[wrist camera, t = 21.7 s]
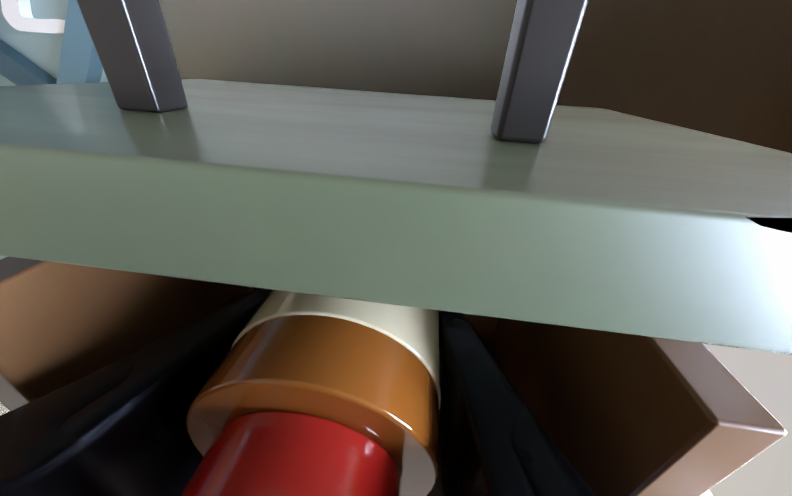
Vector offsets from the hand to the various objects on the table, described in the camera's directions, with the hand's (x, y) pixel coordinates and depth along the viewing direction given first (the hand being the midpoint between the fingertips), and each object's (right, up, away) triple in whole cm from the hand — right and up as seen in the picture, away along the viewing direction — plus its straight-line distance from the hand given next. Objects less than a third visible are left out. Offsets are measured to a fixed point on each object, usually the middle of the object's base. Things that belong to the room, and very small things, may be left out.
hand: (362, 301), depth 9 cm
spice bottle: (0, 0, +1) cm, 1 cm away
